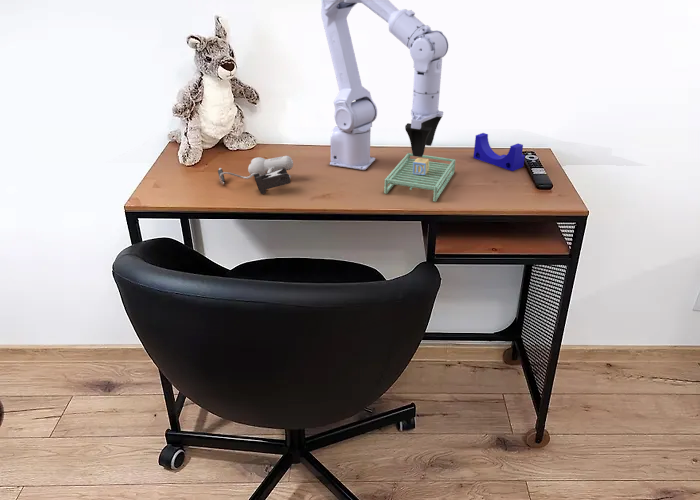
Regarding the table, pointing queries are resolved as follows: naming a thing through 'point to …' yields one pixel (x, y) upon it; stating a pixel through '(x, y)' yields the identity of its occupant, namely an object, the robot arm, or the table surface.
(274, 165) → the clip-on lamp
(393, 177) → the rack
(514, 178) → the table surface
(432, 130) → the robot arm
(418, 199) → the table surface
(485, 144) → the blue cradle bracket
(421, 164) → the alphabet block
